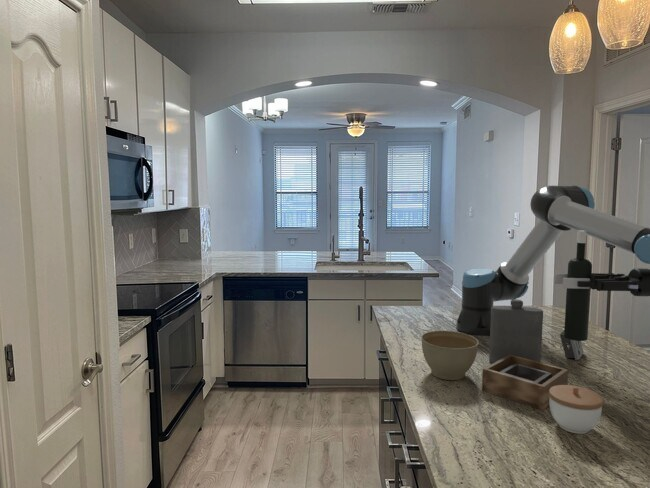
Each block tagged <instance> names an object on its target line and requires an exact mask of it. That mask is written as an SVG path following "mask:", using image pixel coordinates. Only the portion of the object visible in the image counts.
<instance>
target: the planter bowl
mask: <svg viewBox="0 0 650 488" xmlns="http://www.w3.org/2000/svg"><path fill="white" fill-rule="evenodd" d="M420 338H421V348H422V349H421V350H422V354H423V357H424V359H425V363H426V364H427V365H428V367H429V368H430V371H431V374H432V376H434V377H436V378H438V379H441V380H446V381H447V380H448V381H459V380H462V379H464V378H465V377H466V373H467V372H468V371H469V370H470V369H471V368H472V367H473V364H474V362H475V361H476V358H477V354H478V347H479V340H478V339H477V338H476V337H474V336H472V335H471V334H468V333H465V332H461V331H459V332H458V331H452V330H432V331H428V332H424V333H422V335H421V337H420Z"/></svg>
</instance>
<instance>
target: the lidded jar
mask: <svg viewBox="0 0 650 488" xmlns="http://www.w3.org/2000/svg"><path fill="white" fill-rule="evenodd" d="M603 405H604V400H603V397H602V396H601V395H600V394H598V393H597V392H595V391H593V390H591V389H588V388H586V387H585V388H584V387H582V386H578V385H572V384H567V385H557V386H553V387H551V388H550V389H549V406H548V407H549V412H550V415H551V417H552V418H553V420H554V421H555V422H556V423H557V424H558V426H559V427H560V428H561V429H562V430H564V431H565V432H569V433H572V434H577V435H580V434H582V435H584V434H587V433H589V431H591V430H592V429H594V428H595V427H596V426H597V425H598V424H599V422H600V419H601V416H602V413H603V412H602V411H603Z"/></svg>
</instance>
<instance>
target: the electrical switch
mask: <svg viewBox="0 0 650 488" xmlns="http://www.w3.org/2000/svg"><path fill="white" fill-rule="evenodd" d="M559 337H560V340H561V344H562V348H563V352H564V353H563V354H564V357H565V358H566V359H574V360H575V361H580V359H581V357H582V356H583V355H584V348H583V344H582V341H575V340H570V339H567V338H565V337H564V330H562V332H561V333H559Z"/></svg>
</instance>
